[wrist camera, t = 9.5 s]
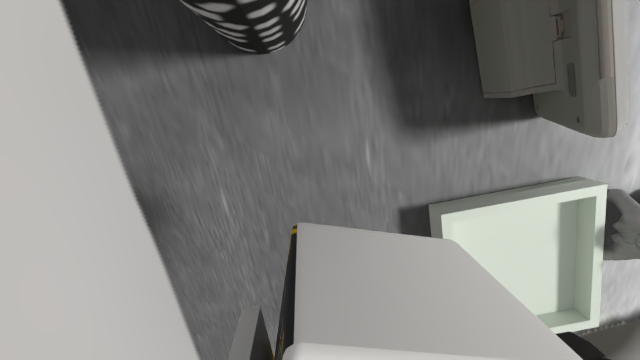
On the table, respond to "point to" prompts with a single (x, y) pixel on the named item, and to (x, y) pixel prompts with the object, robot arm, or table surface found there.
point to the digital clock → (558, 59)
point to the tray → (536, 245)
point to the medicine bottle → (400, 302)
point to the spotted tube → (253, 21)
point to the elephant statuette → (624, 228)
